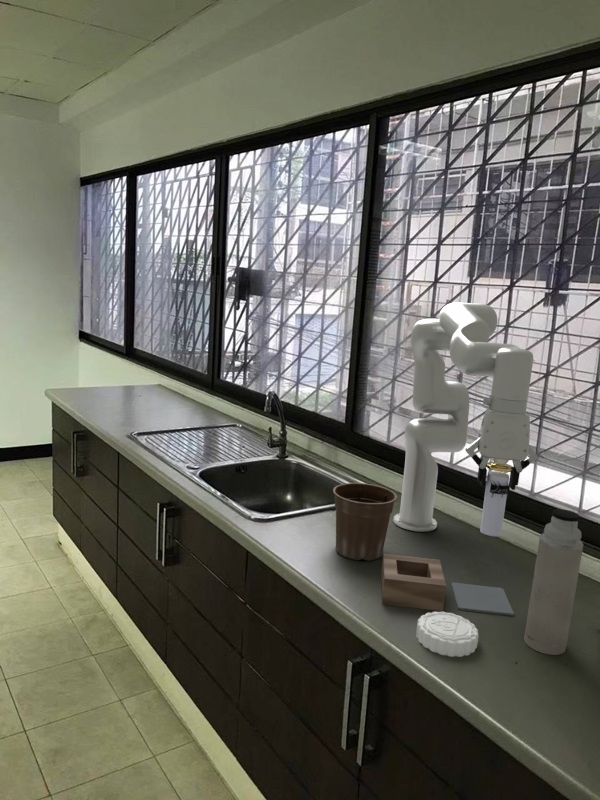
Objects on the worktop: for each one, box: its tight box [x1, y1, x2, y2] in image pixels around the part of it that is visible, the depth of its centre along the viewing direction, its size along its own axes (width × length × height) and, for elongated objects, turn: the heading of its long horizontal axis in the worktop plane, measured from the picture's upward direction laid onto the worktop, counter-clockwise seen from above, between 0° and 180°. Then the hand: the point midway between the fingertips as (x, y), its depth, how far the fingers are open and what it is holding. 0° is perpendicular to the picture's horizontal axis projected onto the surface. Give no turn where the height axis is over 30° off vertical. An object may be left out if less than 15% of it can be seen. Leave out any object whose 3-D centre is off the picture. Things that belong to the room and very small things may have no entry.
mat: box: [450, 582, 515, 617], centre depth 148 cm, size 12×12×1 cm
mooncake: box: [415, 610, 479, 658], centre depth 130 cm, size 12×12×4 cm
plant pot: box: [332, 482, 398, 562], centre depth 167 cm, size 16×16×16 cm
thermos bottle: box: [523, 508, 584, 656], centre depth 129 cm, size 8×8×28 cm
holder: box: [380, 552, 447, 612], centre depth 148 cm, size 13×13×6 cm
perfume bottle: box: [479, 458, 514, 537], centre depth 143 cm, size 6×6×20 cm
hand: (496, 485), depth 143 cm, fingers closed on perfume bottle, 5 cm apart
